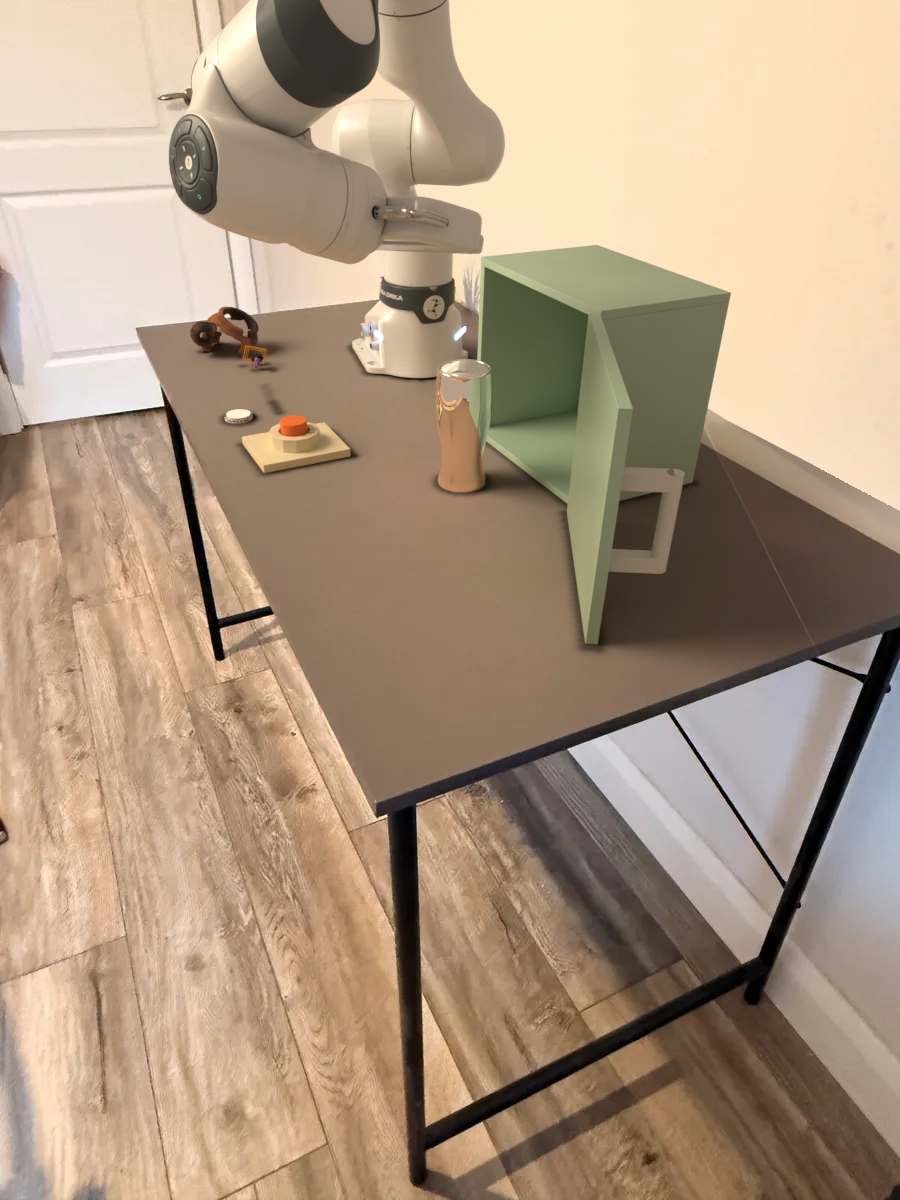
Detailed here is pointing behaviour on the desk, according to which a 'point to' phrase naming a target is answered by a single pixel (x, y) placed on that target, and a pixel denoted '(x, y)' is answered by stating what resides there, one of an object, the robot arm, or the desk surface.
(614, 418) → the green cabinet door
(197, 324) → the brown curved piece
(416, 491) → the desk surface
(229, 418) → the washi tape
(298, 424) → the button
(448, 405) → the beer glass
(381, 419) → the desk surface
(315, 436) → the control box
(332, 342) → the desk surface
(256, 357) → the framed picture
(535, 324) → the green cabinet
